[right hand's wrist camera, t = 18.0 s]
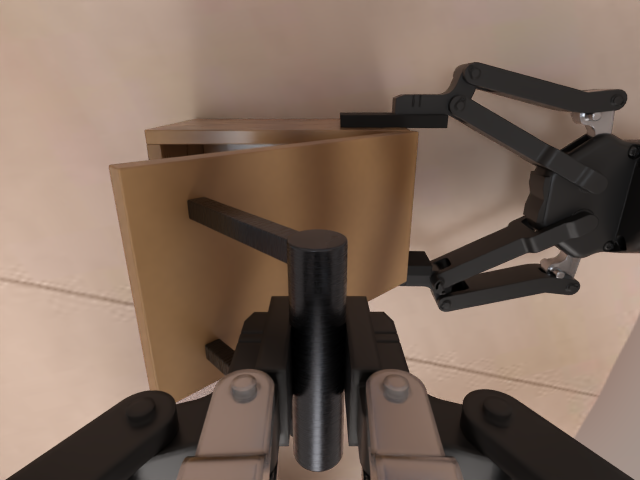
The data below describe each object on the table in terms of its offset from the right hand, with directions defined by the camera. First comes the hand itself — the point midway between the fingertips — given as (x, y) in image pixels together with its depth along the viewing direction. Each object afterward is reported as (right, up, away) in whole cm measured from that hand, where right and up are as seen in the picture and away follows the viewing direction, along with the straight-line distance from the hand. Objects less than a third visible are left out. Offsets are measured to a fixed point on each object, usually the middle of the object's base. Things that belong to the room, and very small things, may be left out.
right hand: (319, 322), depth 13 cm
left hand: (+1, +6, +15) cm, 16 cm away
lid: (-1, +3, +7) cm, 8 cm away
